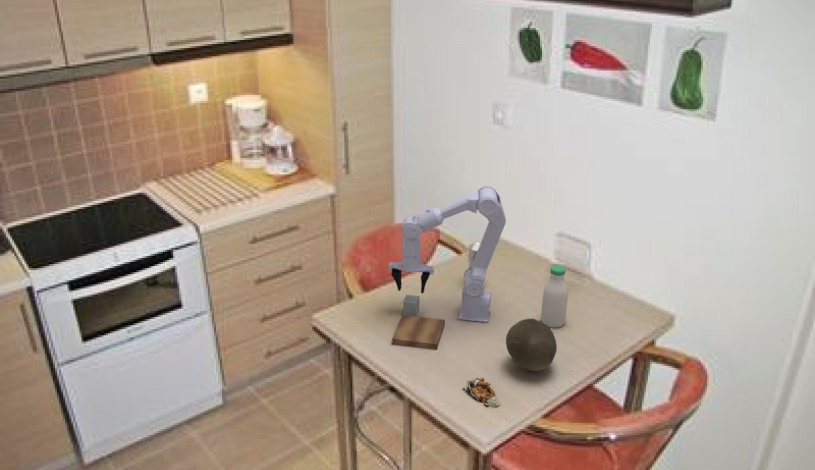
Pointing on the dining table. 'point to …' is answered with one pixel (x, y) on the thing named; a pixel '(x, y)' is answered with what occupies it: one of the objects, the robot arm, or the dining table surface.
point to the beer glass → (473, 254)
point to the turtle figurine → (482, 392)
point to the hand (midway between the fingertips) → (411, 290)
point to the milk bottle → (555, 298)
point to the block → (411, 305)
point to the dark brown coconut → (531, 344)
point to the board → (418, 332)
